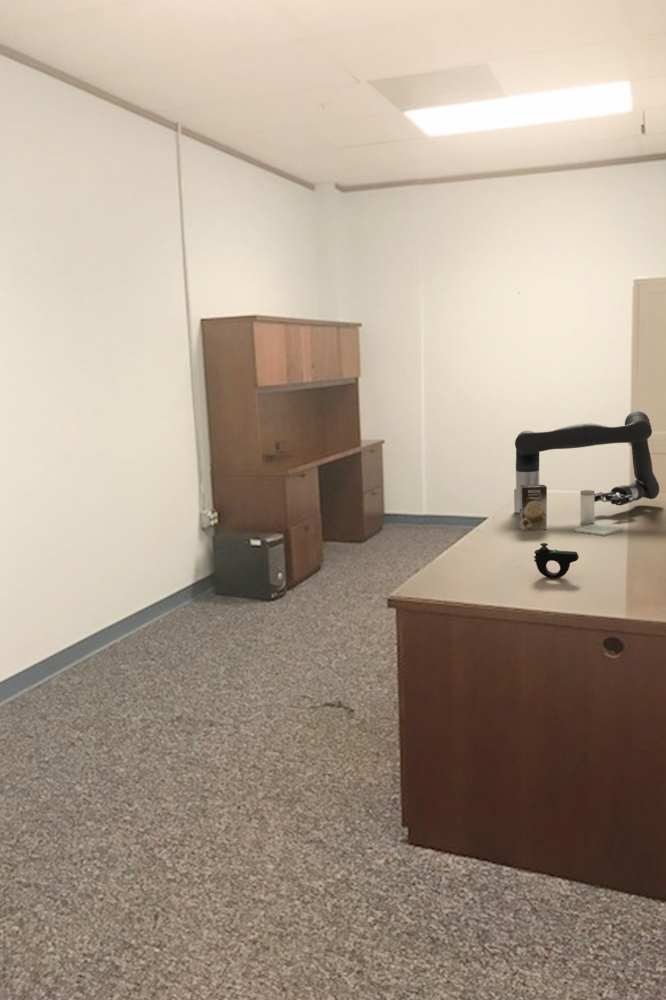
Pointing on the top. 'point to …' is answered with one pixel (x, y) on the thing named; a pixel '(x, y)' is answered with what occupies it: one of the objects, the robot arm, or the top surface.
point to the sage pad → (599, 529)
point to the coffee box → (533, 507)
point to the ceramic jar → (587, 506)
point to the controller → (554, 555)
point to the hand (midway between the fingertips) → (601, 500)
